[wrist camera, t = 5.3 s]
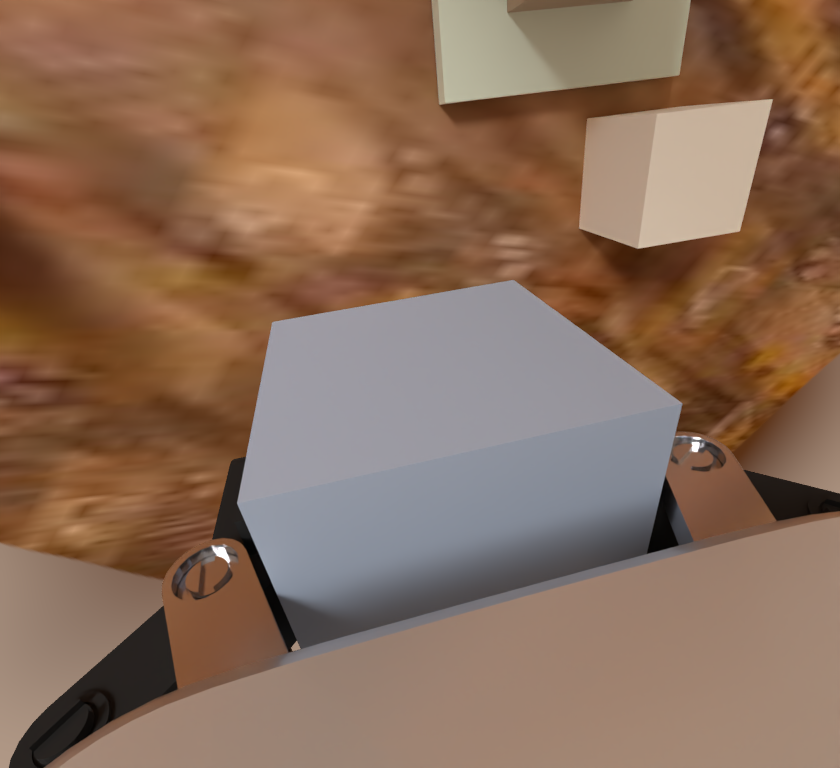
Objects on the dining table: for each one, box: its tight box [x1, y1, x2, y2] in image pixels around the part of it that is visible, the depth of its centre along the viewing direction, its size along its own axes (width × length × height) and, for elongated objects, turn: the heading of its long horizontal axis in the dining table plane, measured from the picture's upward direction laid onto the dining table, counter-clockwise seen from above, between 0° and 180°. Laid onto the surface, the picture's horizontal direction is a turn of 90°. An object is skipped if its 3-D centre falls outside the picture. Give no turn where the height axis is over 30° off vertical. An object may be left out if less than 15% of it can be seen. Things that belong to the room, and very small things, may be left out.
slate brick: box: [237, 280, 682, 649], centre depth 10 cm, size 6×6×6 cm
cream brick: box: [579, 99, 773, 249], centre depth 24 cm, size 6×6×6 cm
